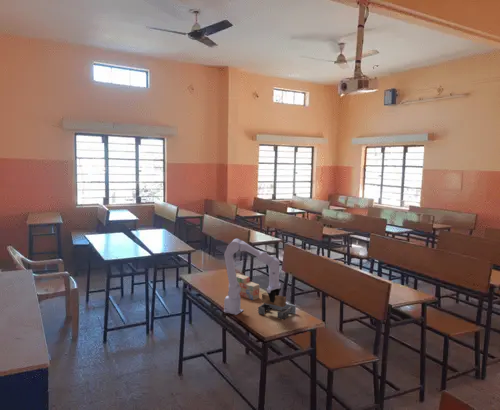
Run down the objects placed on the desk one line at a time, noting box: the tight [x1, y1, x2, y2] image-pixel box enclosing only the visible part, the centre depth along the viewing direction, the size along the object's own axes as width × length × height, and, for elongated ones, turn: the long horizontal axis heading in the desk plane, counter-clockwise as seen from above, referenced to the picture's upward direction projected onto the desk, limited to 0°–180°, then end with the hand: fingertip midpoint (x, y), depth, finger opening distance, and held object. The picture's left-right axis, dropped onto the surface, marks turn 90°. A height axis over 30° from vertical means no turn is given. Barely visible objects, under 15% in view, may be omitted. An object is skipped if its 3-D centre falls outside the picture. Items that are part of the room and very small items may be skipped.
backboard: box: [265, 302, 297, 315], centre depth 234 cm, size 21×5×5 cm, turn 60°
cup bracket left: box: [257, 303, 271, 316], centre depth 232 cm, size 4×7×4 cm, turn 150°
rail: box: [261, 292, 287, 307], centre depth 227 cm, size 14×4×5 cm, turn 60°
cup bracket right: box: [277, 308, 290, 320], centre depth 225 cm, size 4×7×4 cm, turn 150°
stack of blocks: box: [236, 272, 260, 301], centre depth 260 cm, size 21×6×12 cm, turn 45°
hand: (273, 301), depth 228 cm, fingers closed on rail, 4 cm apart
